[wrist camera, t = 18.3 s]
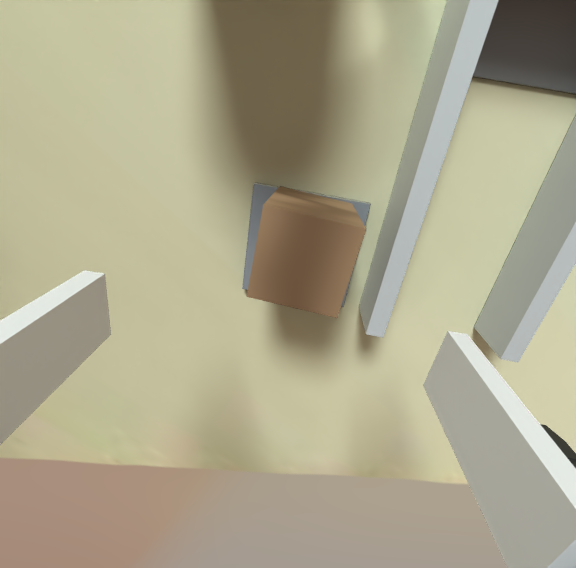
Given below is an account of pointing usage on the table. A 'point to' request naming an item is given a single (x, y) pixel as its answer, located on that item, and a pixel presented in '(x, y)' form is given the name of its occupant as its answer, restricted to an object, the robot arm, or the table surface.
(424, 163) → the channel
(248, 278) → the coaster
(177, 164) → the table surface
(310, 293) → the block
